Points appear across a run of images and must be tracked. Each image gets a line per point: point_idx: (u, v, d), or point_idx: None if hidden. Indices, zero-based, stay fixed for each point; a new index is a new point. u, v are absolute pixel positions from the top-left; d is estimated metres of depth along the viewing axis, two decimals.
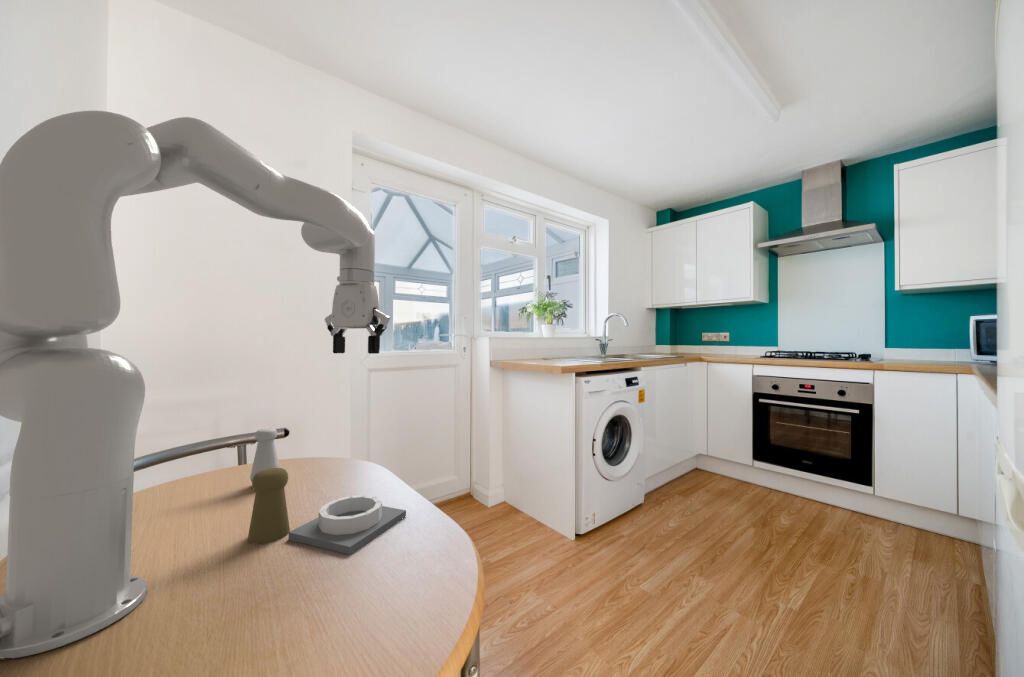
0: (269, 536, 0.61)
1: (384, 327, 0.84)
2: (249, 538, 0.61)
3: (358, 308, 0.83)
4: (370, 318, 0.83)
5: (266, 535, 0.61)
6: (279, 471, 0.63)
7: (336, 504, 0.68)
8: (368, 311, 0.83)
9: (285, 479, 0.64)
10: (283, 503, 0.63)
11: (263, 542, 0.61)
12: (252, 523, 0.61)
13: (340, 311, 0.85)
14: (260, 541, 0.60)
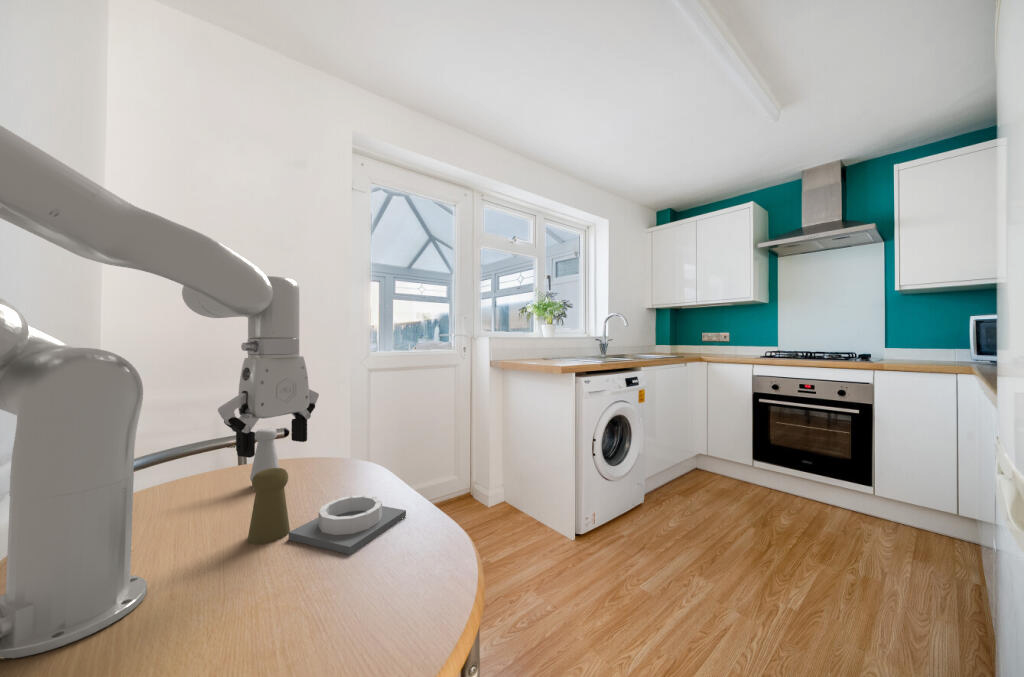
0: (269, 536, 0.61)
1: None
2: (249, 538, 0.61)
3: (300, 388, 0.66)
4: None
5: (266, 535, 0.61)
6: (279, 471, 0.63)
7: (336, 504, 0.68)
8: None
9: (285, 479, 0.64)
10: (283, 503, 0.63)
11: (263, 542, 0.61)
12: (252, 523, 0.61)
13: (274, 395, 0.61)
14: (260, 541, 0.60)
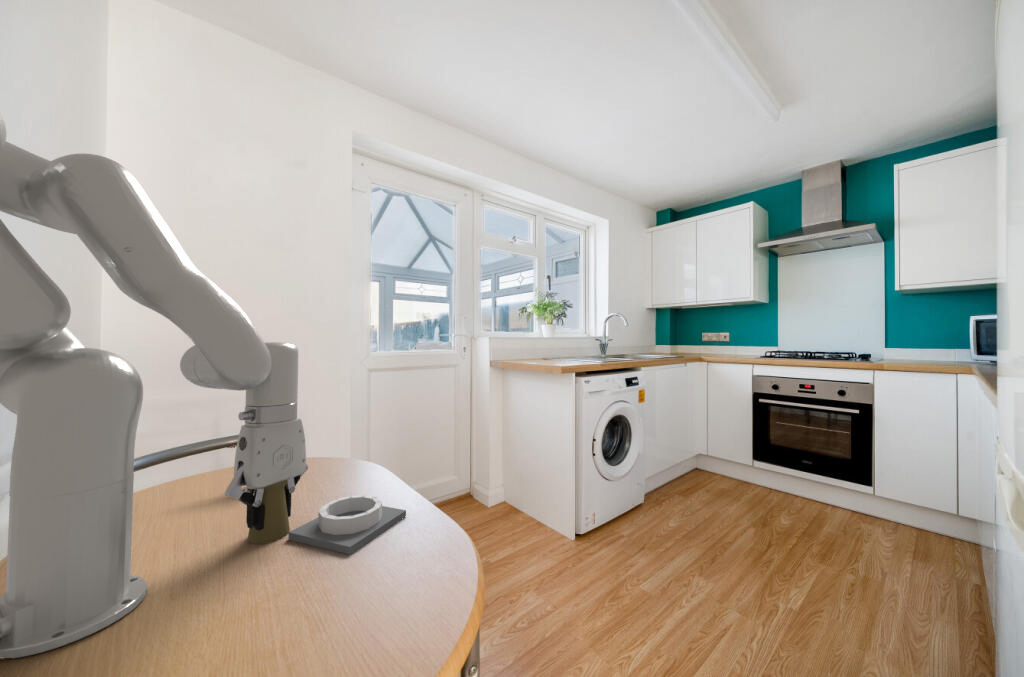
0: (269, 536, 0.61)
1: None
2: (249, 538, 0.61)
3: (297, 452, 0.65)
4: None
5: (266, 535, 0.61)
6: None
7: (336, 504, 0.68)
8: None
9: None
10: (283, 503, 0.63)
11: (263, 542, 0.61)
12: None
13: (270, 463, 0.61)
14: (260, 541, 0.60)
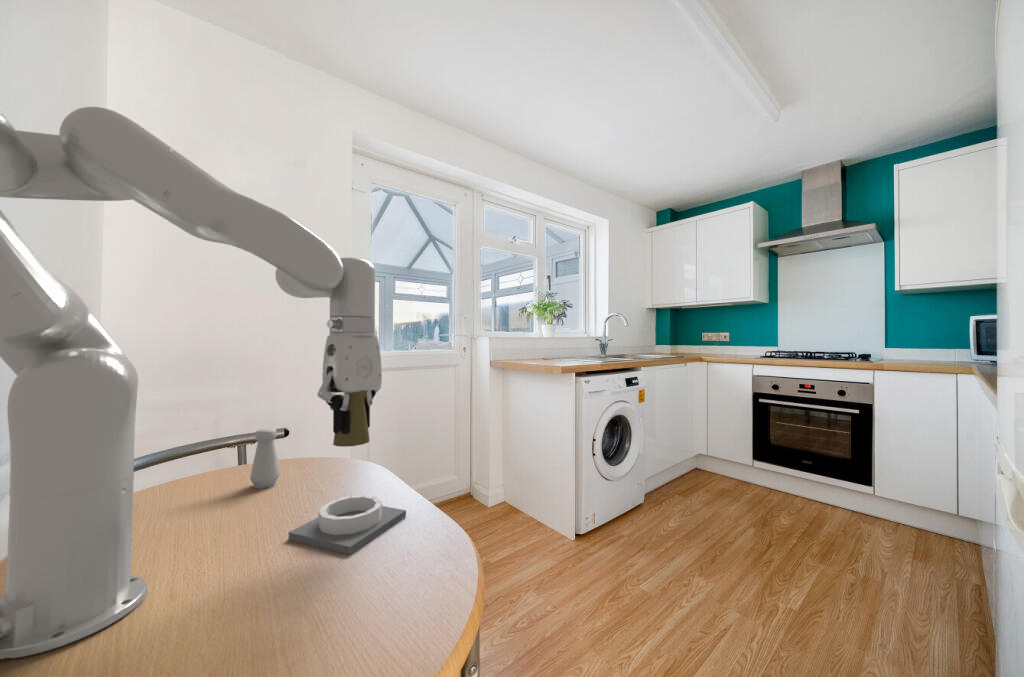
0: (355, 440, 0.64)
1: None
2: (335, 442, 0.64)
3: (375, 366, 0.69)
4: None
5: (352, 438, 0.64)
6: None
7: (336, 504, 0.68)
8: None
9: None
10: (364, 412, 0.67)
11: (349, 445, 0.64)
12: None
13: (355, 371, 0.64)
14: (347, 444, 0.64)
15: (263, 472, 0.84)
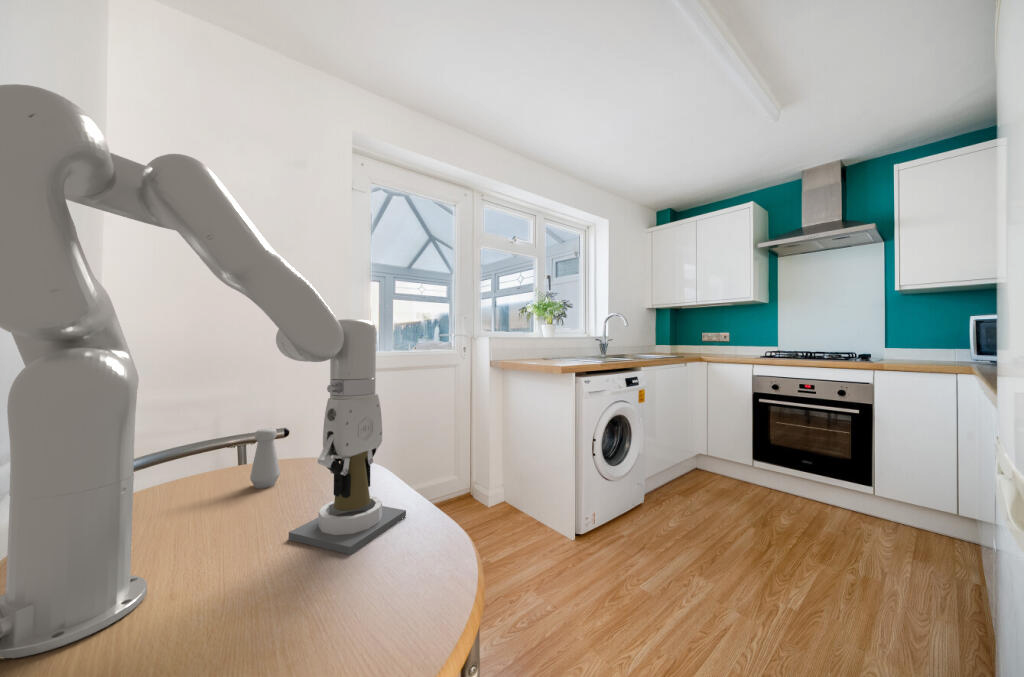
0: (355, 503, 0.64)
1: None
2: (336, 505, 0.64)
3: (376, 425, 0.68)
4: None
5: (353, 502, 0.64)
6: None
7: None
8: None
9: None
10: (365, 473, 0.66)
11: (350, 509, 0.63)
12: None
13: (356, 434, 0.64)
14: (347, 508, 0.63)
15: (263, 472, 0.84)
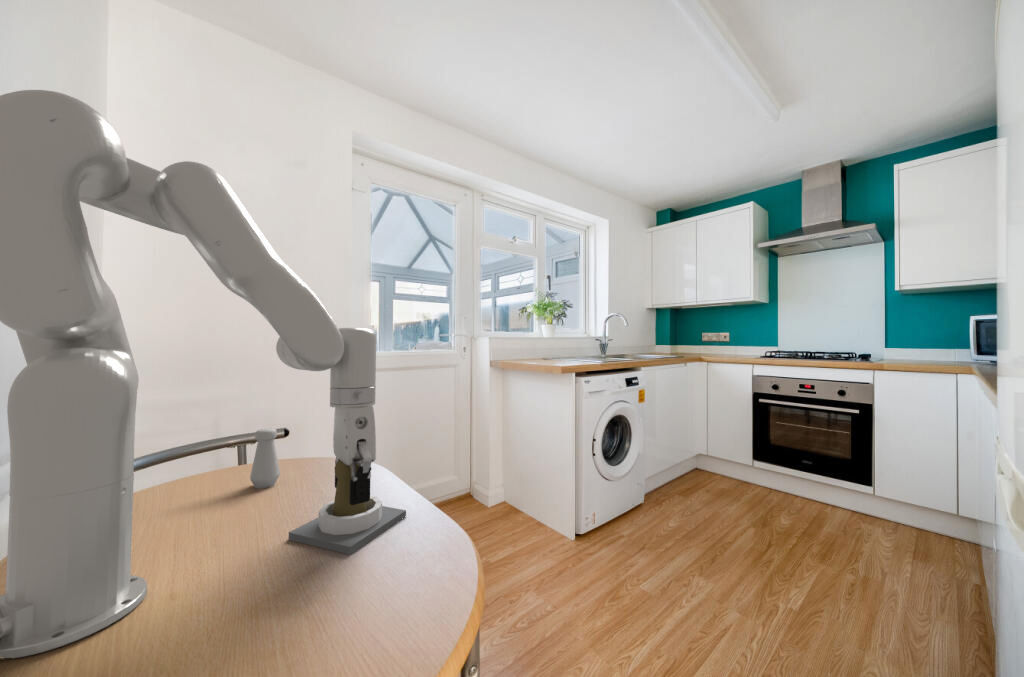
0: None
1: None
2: None
3: None
4: None
5: None
6: None
7: None
8: None
9: None
10: None
11: None
12: (350, 509, 0.64)
13: None
14: None
15: (263, 472, 0.84)
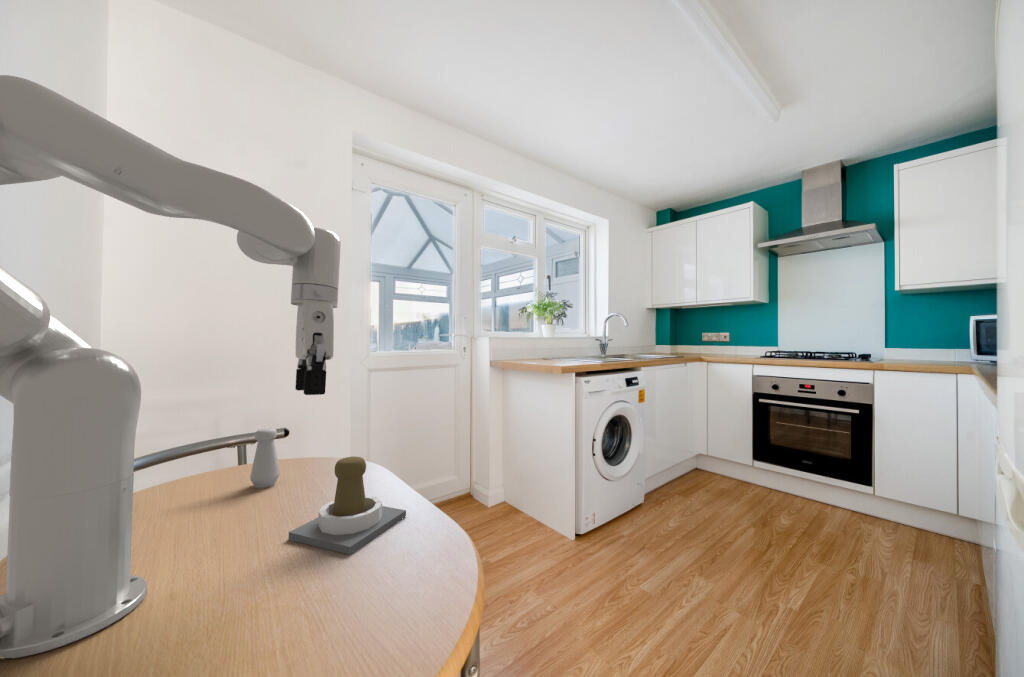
0: None
1: None
2: None
3: None
4: None
5: None
6: (360, 457, 0.68)
7: None
8: None
9: None
10: None
11: None
12: (350, 509, 0.64)
13: None
14: None
15: (263, 472, 0.84)
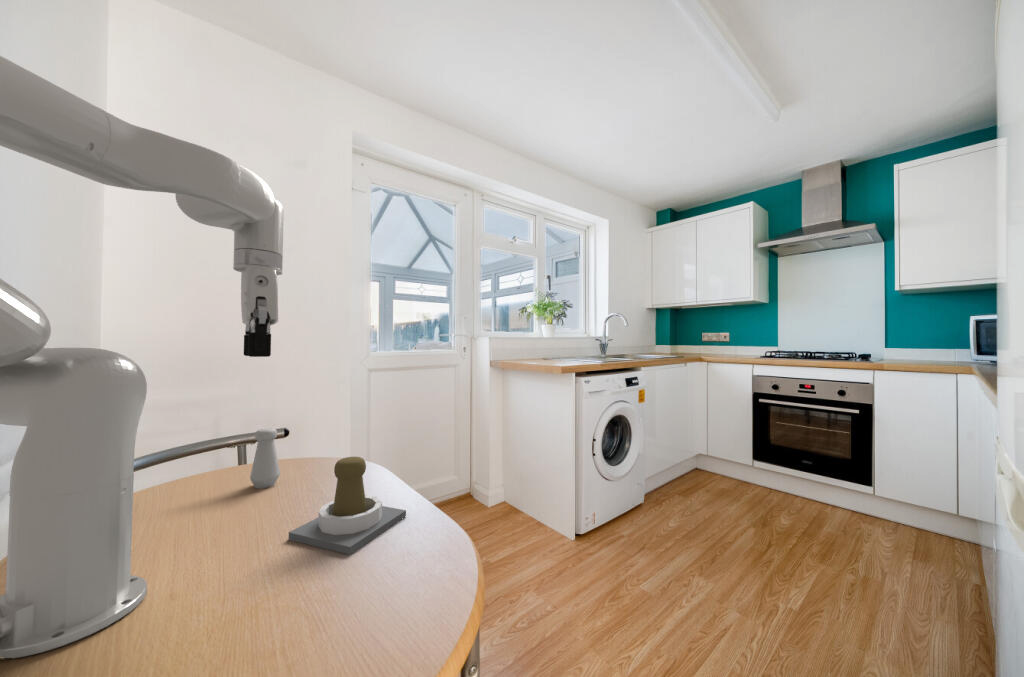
0: None
1: None
2: None
3: None
4: None
5: None
6: (360, 457, 0.68)
7: None
8: None
9: None
10: None
11: None
12: (350, 509, 0.64)
13: None
14: None
15: (263, 472, 0.84)
